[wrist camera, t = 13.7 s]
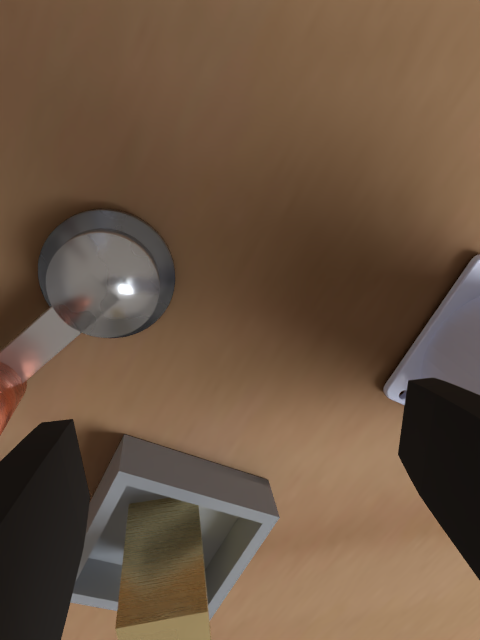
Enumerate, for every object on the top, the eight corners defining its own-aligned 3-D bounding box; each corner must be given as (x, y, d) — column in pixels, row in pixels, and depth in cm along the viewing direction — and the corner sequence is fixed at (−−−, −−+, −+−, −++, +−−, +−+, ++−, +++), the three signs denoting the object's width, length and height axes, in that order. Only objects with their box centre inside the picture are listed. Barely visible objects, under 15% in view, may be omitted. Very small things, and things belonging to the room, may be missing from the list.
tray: (268, 480, 23) (279, 517, 20) (201, 582, 25) (205, 627, 22) (124, 434, 20) (118, 470, 18) (64, 552, 22) (52, 598, 20)
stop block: (197, 493, 22) (207, 611, 16) (202, 542, 23) (213, 666, 17) (128, 503, 21) (115, 628, 16) (137, 552, 22) (128, 684, 17)
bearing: (195, 245, 17) (196, 248, 17) (144, 350, 19) (143, 355, 18) (69, 183, 16) (66, 184, 15) (22, 303, 17) (18, 308, 17)
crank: (107, 205, 16) (90, 221, 12) (180, 284, 17) (183, 317, 14) (-65, 360, 17) (-122, 413, 13) (18, 421, 18) (-14, 482, 15)
